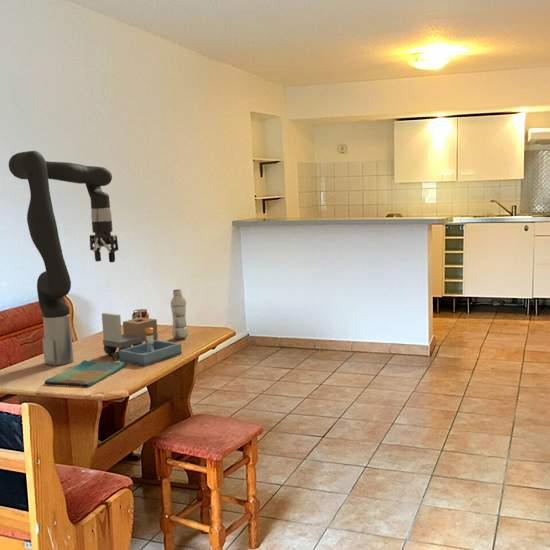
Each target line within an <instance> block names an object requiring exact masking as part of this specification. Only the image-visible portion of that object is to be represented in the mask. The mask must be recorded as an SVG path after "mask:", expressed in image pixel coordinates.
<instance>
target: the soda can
mask: <svg viewBox="0 0 550 550" xmlns="http://www.w3.org/2000/svg"><path fill="white" fill-rule="evenodd" d="M132 312H133V313H132V315H131V318H132V319H136V318H140V317H142V318H150V314H149V312H148V309H147V308H145V309H144V308H140V309H134V310H133V311H132ZM132 319H131V320H132Z"/></svg>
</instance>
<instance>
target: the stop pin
mask: <svg viewBox="0 0 550 550" xmlns="http://www.w3.org/2000/svg"><path fill="white" fill-rule="evenodd" d="M145 330H146V341H145V342H146V344H147V353H149V352H152V351H154V339H153V328H152V327H148V328H145Z"/></svg>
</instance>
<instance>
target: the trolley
mask: <svg viewBox="0 0 550 550" xmlns="http://www.w3.org/2000/svg"><path fill="white" fill-rule="evenodd" d="M101 321H102V322H101V323H102V335H103V336H102V337H103V339H102V344H103V351H104V353H105V354H107V355H112V360H113V359H114V361H120V357H119V351H120V350H123V349H127V348H130V347H134V346H137V345H141V344H143V342H145V343H146V330H145V328H148V327H152V328H153V339H154V340H158V337H159V335H158V323H157V321H158V320H157V319H156V318H150V317H149V318H142V317H140V318H136V319H128V320H125V321H122V323H121V314H117V313H110V312H109V313H108V312H102V313H101ZM122 329H123V333H122ZM117 348H118V351H117Z"/></svg>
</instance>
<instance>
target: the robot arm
mask: <svg viewBox="0 0 550 550" xmlns="http://www.w3.org/2000/svg"><path fill="white" fill-rule="evenodd" d="M8 160H9V161H8V169H9V172H10V173H11V174H12V175H13V176H14V177H15V178H17V179H19V180H27V181H28V186H29V193H30V197H29V204H28V208H27V213H26V222H27V227H28V231H29V236H30V239H31V241H32V242H33V244H34V247H35V248H36V249H37V251H38V253H39V254H40V257H41V258H42V261H43V263H44V268H45V271H43V272H41V273H40V274H39V276H38V277H37V281H36V290H37V291H36V292H37V298H38V306H39V308H40V310H41V314H42V322H43V334H44V335H43V336H44V337H42V348H43V349H42V350H43V359H44V360H43V361H44V364H45V365H50V366H53V367H54V366H60V365H67V364H69V363H70V364H71V363H72V362H74V360H75V359H74V349H73V347H74V346H73V334H72V326H71V325H72V324H71V314H70V312H71V310H70V307H69V306H68V304H67V303H66V302H65V300H64V297H66V296H67V295H68V294H69V293H70V291H71V288H72V287H71V286H72V281H71V276H70V274H69V273H70V272H69V270H68V268H67V264H66V261H65V258H64V255H63V249H62V246H61V242H60V237H59V229H58V227H57V220H56V216H55V213H54V208H53V202H52V197H51V191H50V184H49V182H50V181H49V180H53V181H60V182H66V183H74V184H85V187H86V190H87V193H88V196H89V198H90V210H91V211H90V217H91V228H92V233H94V234H91V235H89V247H90V248H89V250H90V251H93V252H94V261H95V262H101V261H102V256H101V249H102V247H104V248H105V249H107V252H108V261H109V263H115V261H116V254H115V252H117V251H119V242H118V237H117V235H116V234H113V235H112V232H113V231H114V230H113V221H112V219H113V218H112V211H111V205H110V204H111V203H110V202H111V201H110V196H109V194H108V193H107V192H103V189H102V187H105V186H108V185H110V183H111V182H112V179H113V176H112V173H111V171H110V170H109V169H108V168H106V167H102V166H95V165H94V166H91V165H90V166H89V165H84V164H80V163H74V162H65V161H64V162H63V161H47V160H46V159H45V158H44V156H43V154H42V153H40V152H39V151H37V150H29V151H21V152H17V153H15V154H13V155H12V156H11V157H10V158H9V159H8Z"/></svg>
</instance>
